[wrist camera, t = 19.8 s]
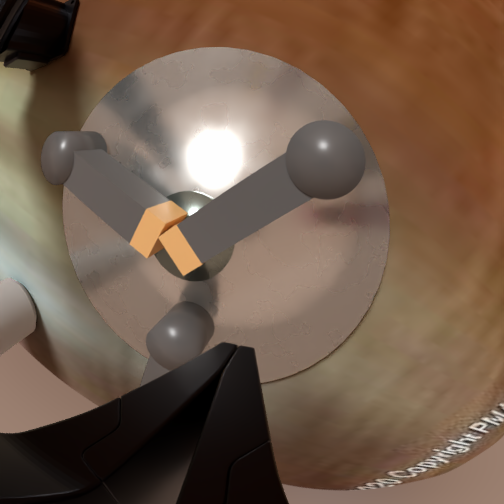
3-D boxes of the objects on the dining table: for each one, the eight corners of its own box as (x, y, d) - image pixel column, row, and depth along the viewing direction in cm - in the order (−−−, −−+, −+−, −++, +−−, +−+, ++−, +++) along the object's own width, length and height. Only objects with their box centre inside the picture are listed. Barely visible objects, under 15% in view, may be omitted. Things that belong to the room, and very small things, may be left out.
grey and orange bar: (177, 292, 21) (152, 316, 17) (221, 317, 21) (203, 346, 17) (145, 382, 25) (126, 406, 22) (178, 402, 25) (162, 428, 21)
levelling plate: (73, 79, 19) (60, 76, 17) (400, 63, 14) (407, 55, 12) (90, 338, 27) (81, 346, 25) (344, 397, 22) (344, 411, 21)
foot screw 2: (334, 116, 15) (337, 106, 12) (368, 171, 16) (379, 175, 12) (180, 216, 19) (151, 229, 16) (210, 262, 19) (188, 285, 16)
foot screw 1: (69, 164, 20) (36, 169, 16) (85, 123, 18) (51, 122, 15) (170, 247, 20) (142, 266, 16) (196, 204, 18) (169, 215, 15)
